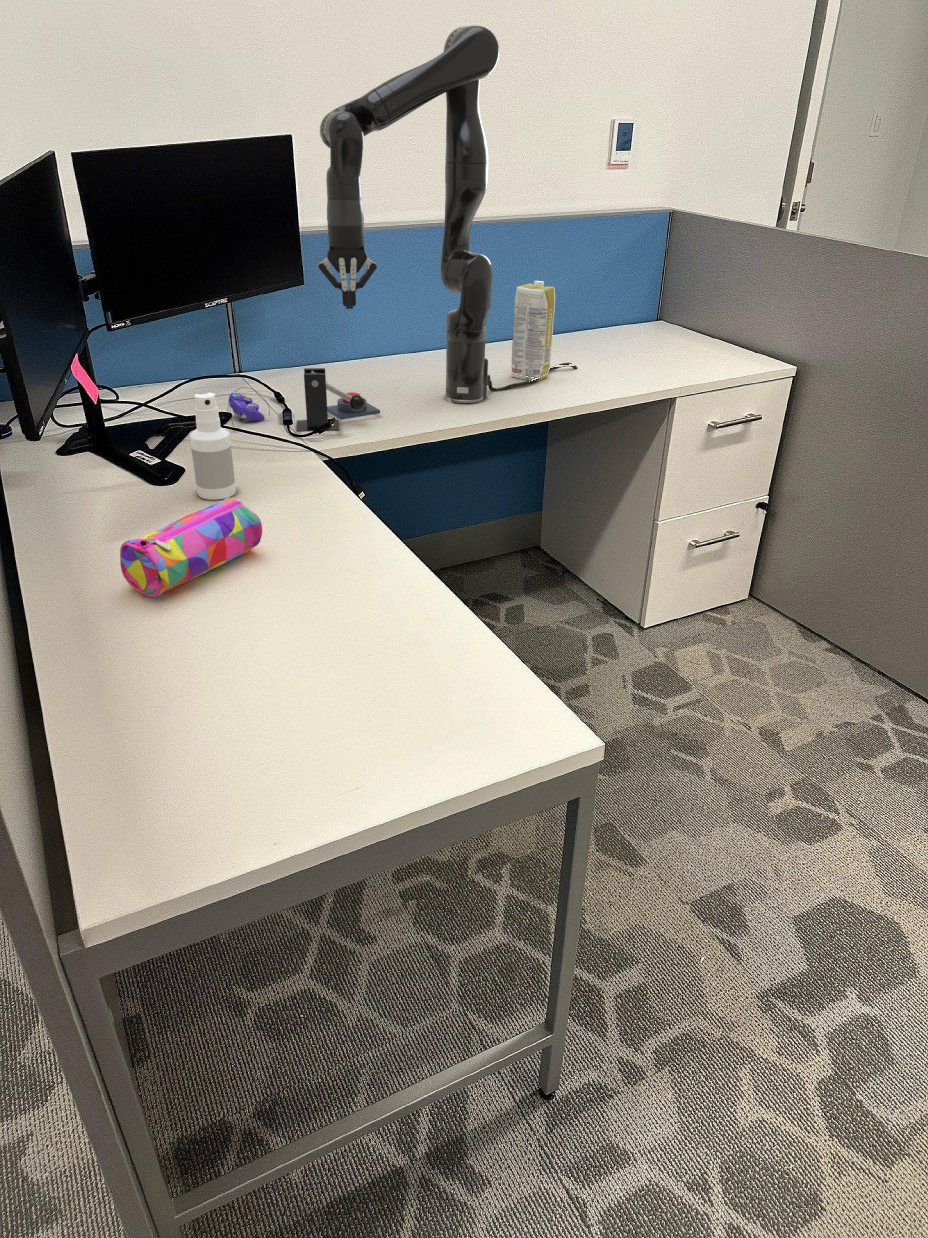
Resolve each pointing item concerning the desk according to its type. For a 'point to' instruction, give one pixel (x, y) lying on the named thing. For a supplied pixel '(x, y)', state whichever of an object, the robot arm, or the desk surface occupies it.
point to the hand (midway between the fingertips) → (349, 308)
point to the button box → (350, 410)
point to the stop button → (351, 396)
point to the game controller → (244, 407)
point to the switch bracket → (315, 402)
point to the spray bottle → (211, 451)
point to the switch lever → (348, 397)
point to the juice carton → (532, 330)
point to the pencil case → (189, 547)
